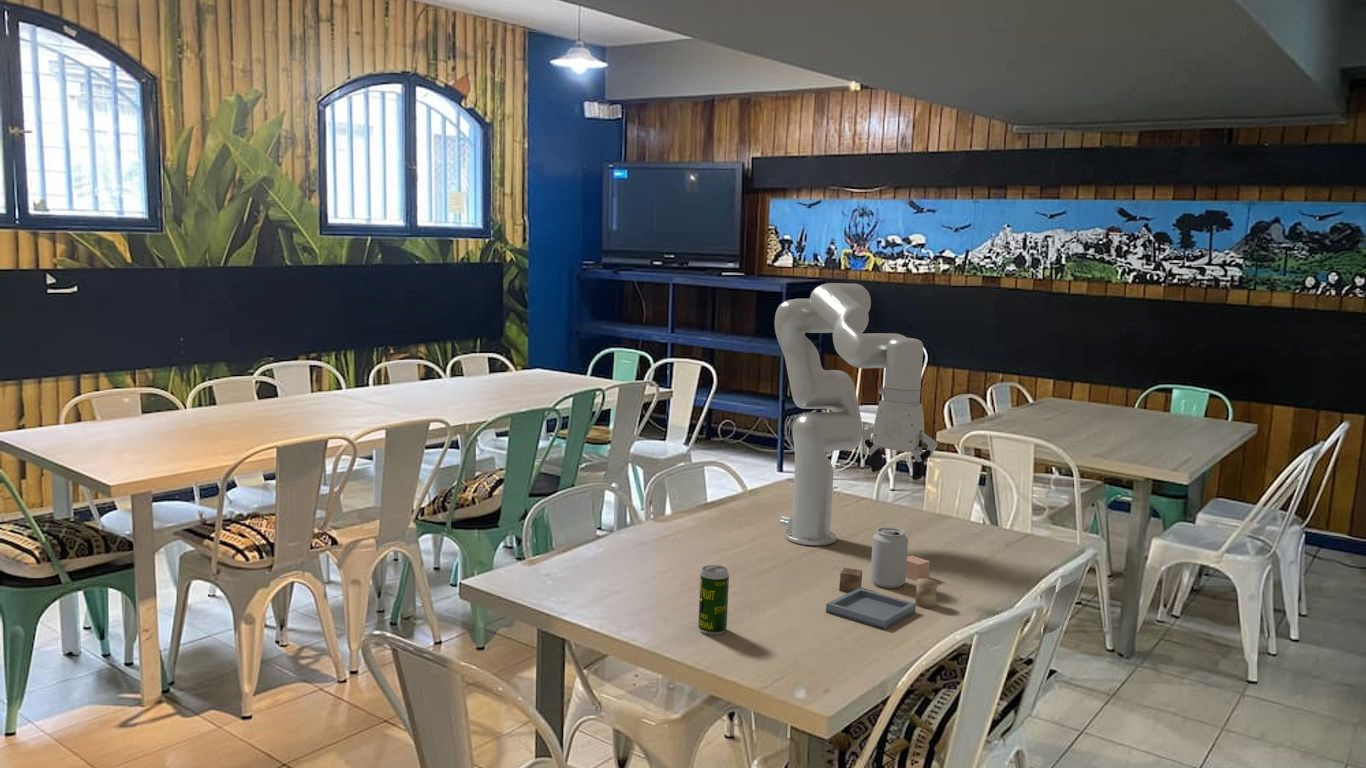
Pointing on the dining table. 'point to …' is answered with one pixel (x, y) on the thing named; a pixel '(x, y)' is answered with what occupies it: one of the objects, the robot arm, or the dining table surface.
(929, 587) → the cork cylinder
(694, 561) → the dining table surface
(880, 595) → the tray
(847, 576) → the walnut block
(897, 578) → the can
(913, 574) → the terracotta block
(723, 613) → the green drink can
